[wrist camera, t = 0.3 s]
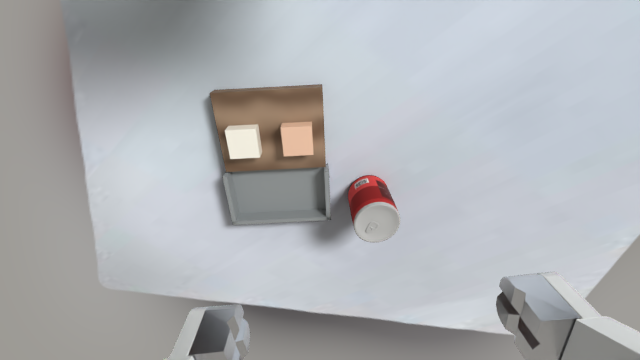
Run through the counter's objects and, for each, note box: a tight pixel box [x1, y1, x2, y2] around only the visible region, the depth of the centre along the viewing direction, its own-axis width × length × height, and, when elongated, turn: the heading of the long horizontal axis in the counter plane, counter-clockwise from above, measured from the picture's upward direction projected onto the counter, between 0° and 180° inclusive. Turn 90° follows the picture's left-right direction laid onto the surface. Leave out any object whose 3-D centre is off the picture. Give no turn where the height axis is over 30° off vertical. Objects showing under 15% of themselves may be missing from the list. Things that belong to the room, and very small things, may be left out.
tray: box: [223, 164, 331, 225], centre depth 59 cm, size 10×19×4 cm, turn 93°
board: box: [210, 84, 326, 172], centre depth 53 cm, size 14×18×2 cm
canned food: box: [348, 175, 400, 242], centre depth 56 cm, size 8×8×11 cm
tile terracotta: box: [281, 122, 314, 156], centre depth 51 cm, size 5×5×2 cm
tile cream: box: [225, 124, 262, 159], centre depth 51 cm, size 5×5×2 cm
